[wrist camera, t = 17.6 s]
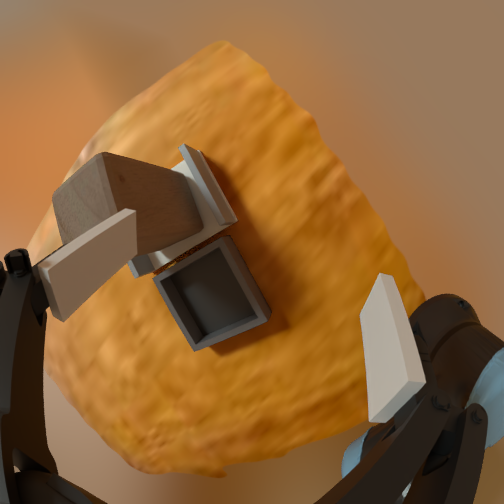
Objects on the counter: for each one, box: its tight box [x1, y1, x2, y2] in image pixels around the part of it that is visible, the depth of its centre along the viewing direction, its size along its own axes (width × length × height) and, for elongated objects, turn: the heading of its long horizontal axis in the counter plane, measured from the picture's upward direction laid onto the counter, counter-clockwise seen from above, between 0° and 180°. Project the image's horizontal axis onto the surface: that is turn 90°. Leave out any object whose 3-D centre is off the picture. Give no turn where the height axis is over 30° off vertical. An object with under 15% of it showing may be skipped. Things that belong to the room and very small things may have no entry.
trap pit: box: [152, 235, 272, 352], centre depth 42 cm, size 14×14×4 cm
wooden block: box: [52, 152, 204, 257], centre depth 33 cm, size 10×10×20 cm
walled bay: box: [128, 144, 238, 278], centre depth 41 cm, size 13×18×6 cm
